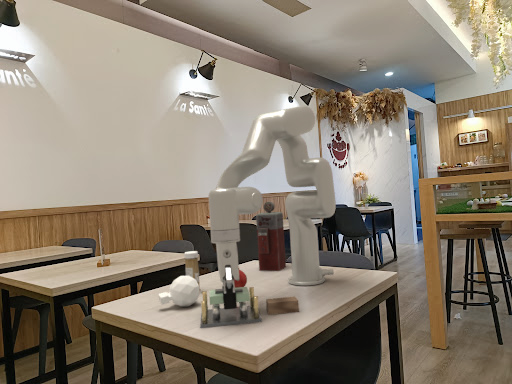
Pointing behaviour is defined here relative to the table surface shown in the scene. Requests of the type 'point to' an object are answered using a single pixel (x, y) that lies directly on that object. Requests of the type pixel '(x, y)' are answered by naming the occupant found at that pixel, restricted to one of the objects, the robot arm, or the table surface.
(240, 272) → the onion
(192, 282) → the perfume bottle
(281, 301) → the walnut stand
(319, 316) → the table surface
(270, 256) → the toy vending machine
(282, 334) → the table surface
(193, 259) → the sprinkles bottle
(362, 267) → the table surface
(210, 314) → the chassis
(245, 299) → the board
